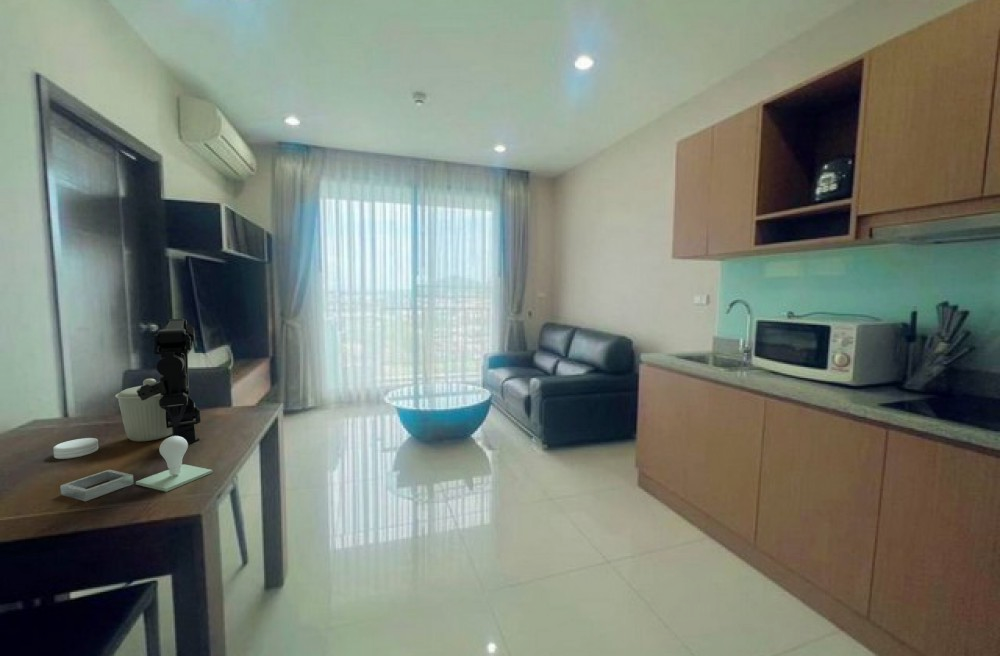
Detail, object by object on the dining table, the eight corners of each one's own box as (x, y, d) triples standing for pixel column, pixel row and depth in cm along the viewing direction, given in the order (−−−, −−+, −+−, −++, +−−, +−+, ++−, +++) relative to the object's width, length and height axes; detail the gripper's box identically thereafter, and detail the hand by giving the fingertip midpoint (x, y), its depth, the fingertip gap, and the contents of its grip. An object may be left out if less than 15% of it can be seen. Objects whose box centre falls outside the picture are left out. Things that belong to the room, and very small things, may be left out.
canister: (174, 442, 140) (171, 381, 138) (107, 449, 133) (102, 385, 132) (192, 426, 157) (189, 372, 155) (132, 431, 150) (129, 375, 148)
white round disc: (55, 453, 130) (54, 442, 130) (98, 445, 137) (98, 435, 137) (52, 462, 123) (51, 451, 123) (98, 453, 130) (98, 442, 130)
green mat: (135, 484, 109) (135, 481, 108) (183, 466, 120) (183, 464, 120) (166, 491, 105) (166, 488, 105) (212, 472, 116) (212, 470, 116)
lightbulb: (161, 482, 108) (159, 442, 107) (160, 474, 113) (158, 436, 112) (190, 475, 112) (188, 436, 111) (187, 468, 117) (185, 431, 116)
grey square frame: (61, 494, 103) (60, 485, 102) (109, 478, 112) (109, 469, 112) (85, 501, 99) (84, 491, 99) (133, 483, 109) (132, 474, 109)
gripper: (142, 370, 124) (145, 420, 125) (133, 379, 109) (136, 436, 110) (188, 367, 131) (190, 414, 132) (185, 375, 116) (188, 428, 117)
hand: (176, 423), depth 122 cm, fingers open, 9 cm apart
